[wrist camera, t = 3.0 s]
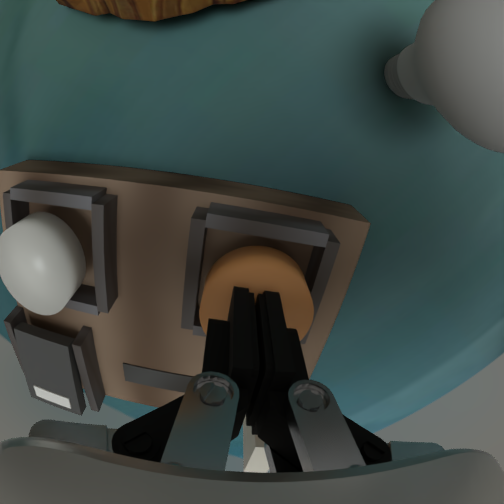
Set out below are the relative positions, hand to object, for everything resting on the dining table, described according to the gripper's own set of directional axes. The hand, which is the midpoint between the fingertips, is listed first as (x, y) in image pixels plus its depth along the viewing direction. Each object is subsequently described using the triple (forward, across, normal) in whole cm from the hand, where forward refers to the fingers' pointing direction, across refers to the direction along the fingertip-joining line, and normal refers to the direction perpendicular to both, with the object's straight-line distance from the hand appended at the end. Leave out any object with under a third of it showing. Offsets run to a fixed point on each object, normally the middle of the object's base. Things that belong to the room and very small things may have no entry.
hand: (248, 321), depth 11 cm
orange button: (+2, 0, 0) cm, 2 cm away
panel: (+7, +5, +4) cm, 9 cm away
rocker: (+3, +12, +9) cm, 15 cm away
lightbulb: (+7, -6, -12) cm, 15 cm away
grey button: (+2, +10, 0) cm, 10 cm away
